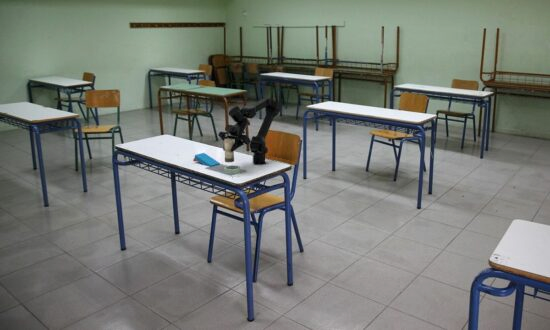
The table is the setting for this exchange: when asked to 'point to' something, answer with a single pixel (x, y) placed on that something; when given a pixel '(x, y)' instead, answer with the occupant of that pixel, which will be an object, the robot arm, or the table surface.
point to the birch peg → (228, 150)
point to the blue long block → (205, 160)
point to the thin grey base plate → (226, 169)
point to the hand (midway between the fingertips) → (227, 151)
